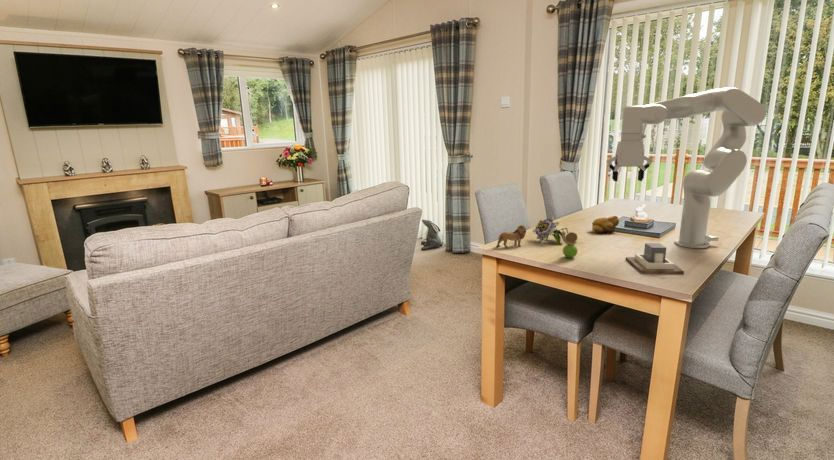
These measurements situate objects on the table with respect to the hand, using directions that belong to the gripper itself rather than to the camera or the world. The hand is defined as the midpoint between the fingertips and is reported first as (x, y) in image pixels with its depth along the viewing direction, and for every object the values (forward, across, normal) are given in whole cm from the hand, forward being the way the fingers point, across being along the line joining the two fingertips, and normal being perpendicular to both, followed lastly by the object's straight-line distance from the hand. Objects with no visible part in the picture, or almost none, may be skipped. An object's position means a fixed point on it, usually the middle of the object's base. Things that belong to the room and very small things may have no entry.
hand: (627, 180), depth 179 cm
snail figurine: (+28, +25, +15) cm, 41 cm away
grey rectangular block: (+27, -3, +25) cm, 37 cm away
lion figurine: (+29, +46, -1) cm, 54 cm away
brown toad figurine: (+29, 0, -28) cm, 40 cm away
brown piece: (+28, -3, +25) cm, 38 cm away
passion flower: (+29, +28, -10) cm, 41 cm away
